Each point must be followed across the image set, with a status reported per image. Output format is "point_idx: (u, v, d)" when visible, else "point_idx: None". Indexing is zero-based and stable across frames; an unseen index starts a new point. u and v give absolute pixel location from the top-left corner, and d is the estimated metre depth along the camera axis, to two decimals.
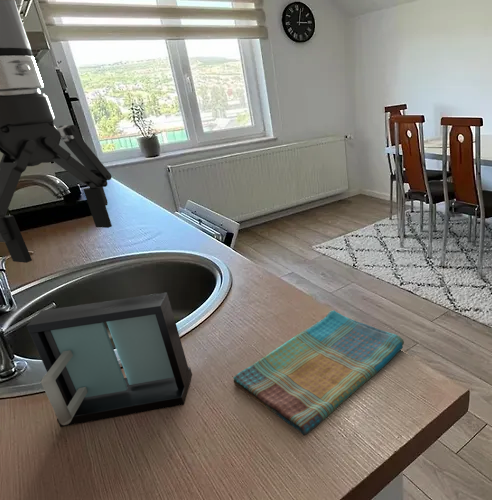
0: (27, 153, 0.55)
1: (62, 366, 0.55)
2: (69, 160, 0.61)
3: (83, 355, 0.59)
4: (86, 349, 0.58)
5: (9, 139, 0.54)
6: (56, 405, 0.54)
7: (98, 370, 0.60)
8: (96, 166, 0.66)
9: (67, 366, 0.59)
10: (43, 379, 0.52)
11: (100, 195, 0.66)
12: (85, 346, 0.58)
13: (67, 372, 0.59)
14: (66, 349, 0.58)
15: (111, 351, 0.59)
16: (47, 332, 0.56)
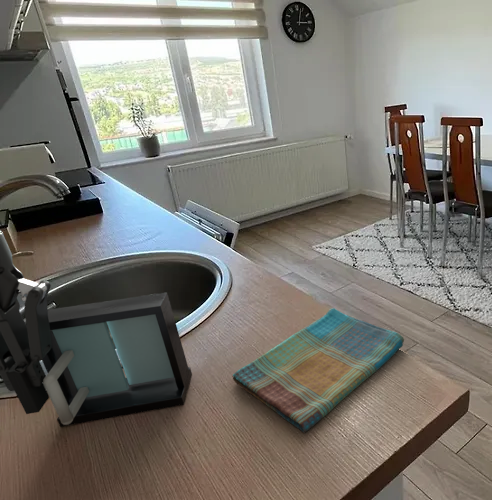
0: None
1: (64, 366, 0.55)
2: (1, 323, 0.48)
3: (85, 355, 0.59)
4: (88, 349, 0.58)
5: None
6: (58, 405, 0.54)
7: (100, 370, 0.60)
8: (29, 340, 0.49)
9: (69, 366, 0.59)
10: (45, 379, 0.52)
11: (20, 378, 0.50)
12: (87, 346, 0.58)
13: (69, 372, 0.59)
14: (68, 349, 0.58)
15: (113, 351, 0.59)
16: None
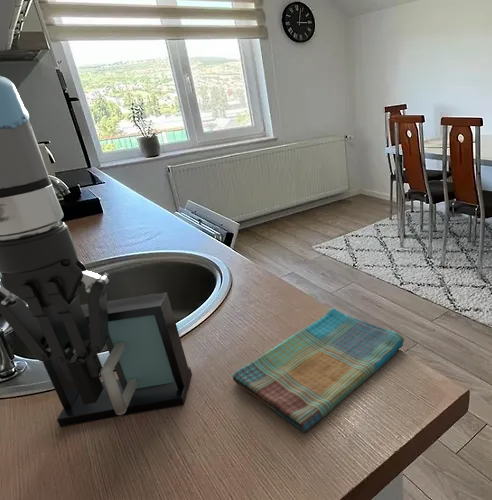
0: (31, 299, 0.47)
1: (117, 357, 0.56)
2: (65, 314, 0.49)
3: (135, 347, 0.60)
4: (138, 341, 0.59)
5: (6, 282, 0.46)
6: (113, 395, 0.54)
7: (149, 362, 0.61)
8: (91, 331, 0.50)
9: (119, 358, 0.60)
10: (102, 369, 0.53)
11: (79, 369, 0.51)
12: (137, 338, 0.59)
13: (119, 363, 0.60)
14: (119, 341, 0.59)
15: (162, 343, 0.60)
16: None
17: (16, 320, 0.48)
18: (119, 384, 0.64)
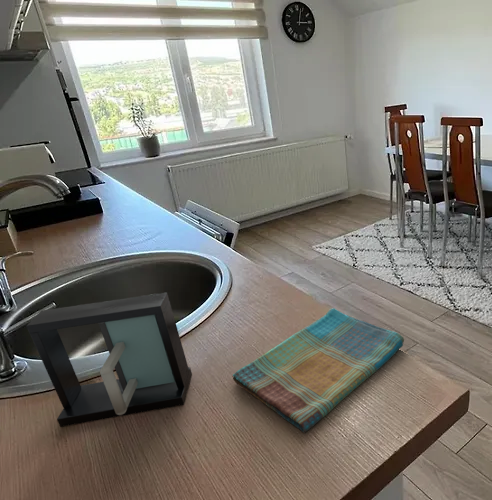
0: None
1: (117, 357, 0.56)
2: None
3: (135, 347, 0.60)
4: (138, 341, 0.59)
5: None
6: (113, 395, 0.54)
7: (149, 362, 0.61)
8: None
9: (119, 358, 0.60)
10: (102, 369, 0.53)
11: None
12: (137, 338, 0.59)
13: (119, 363, 0.60)
14: (119, 341, 0.59)
15: (162, 343, 0.60)
16: (102, 324, 0.57)
17: None
18: (119, 384, 0.64)
